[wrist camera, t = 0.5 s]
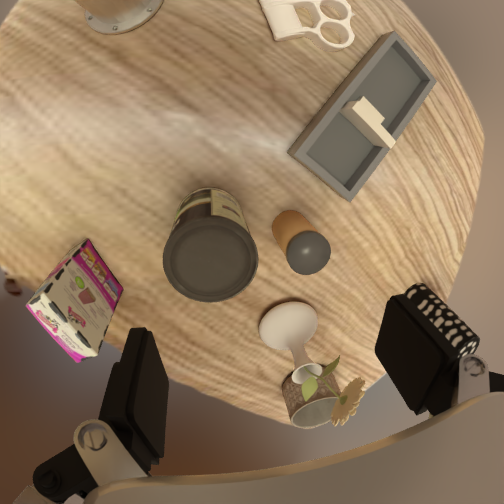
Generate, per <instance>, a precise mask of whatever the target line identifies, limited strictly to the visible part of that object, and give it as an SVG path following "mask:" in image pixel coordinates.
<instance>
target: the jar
mask: <svg viewBox="0 0 504 504" xmlns="http://www.w3.org/2000/svg"><path fill="white" fill-rule="evenodd" d="M272 232H273V235H274V237H275V238H276V240H277V242H278V244H279V246H280V247H281V249H282V251H283V253H284V254H285V256H286V259H287V261H288V263H289V265H290V267H291V268H292V269H293V270H294V271H295V272H296V273H299V274H302V275H310V274H314V273H316V272H318V271H320V270H321V269H322V268H323V267H324V266H325V265H326V264H327V262H328V261H329V258H330V254H331V248H330V244H329V242H328V241H327V240H326V238H325V237H324V236H323V235H322V234H320V233H319V232H318V231H317V230H316V229H315V228H314V227H313V226H312V225H311V224H310V223H309V222H308V221H307V220H306V219H305V218H304V217H303V216H302V215H301V214H300V213H299V212H297V211H293V210H288V211H284V212H282V213H280V214H279V215H278V216H277V217H276V218H275V220H274V222H273V225H272Z"/></svg>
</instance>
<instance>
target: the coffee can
mask: <svg viewBox="0 0 504 504" xmlns="http://www.w3.org/2000/svg"><path fill="white" fill-rule="evenodd" d="M257 267H258V252H257V248H256V245H255V242H254V240H253V239H252V237H251V235H250V232H249V230H248V227H247V225H246V222H245V219H244V217H243V213H242V210H241V207H240V205H239V203H238V202H237V200H236V199H235V198H234V197H233V196H232V195H231V194H229V193H228V192H226V191H223V190H221V189H217V188H202V189H198V190H196V191H194V192H192V193H190V194H189V195H188V196H186V197H185V198H184V200H183V201H182V202H181V204H180V206H179V208H178V210H177V214H176V218H175V221H174V224H173V227H172V230H171V233H170V236H169V239H168V241H167V243H166V245H165V248H164V253H163V268H164V271H165V274H166V276H167V278H168V280H169V282H170V283H171V284H172V286H173V287H174V288H175V289H176V290H177V291H178V292H180V293H181V294H183V295H184V296H186V297H188V298H190V299H193V300H196V301H200V302H220V301H224V300H228V299H230V298H233V297H235V296H236V295H238V294H239V293H241V292H242V291H243V290H244V289H245V288H246V287H247V286H248V285H249V284H250V283H251V281H252V280H253V278H254V276H255V274H256V271H257Z"/></svg>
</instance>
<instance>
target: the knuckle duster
mask: <svg viewBox="0 0 504 504" xmlns="http://www.w3.org/2000/svg"><path fill="white" fill-rule="evenodd" d="M259 2H260V4H261V6H262V11H263V12H264V13H265V16H266V18H267V20H268V23H269V25H270V28H271V30H272V32H273V35H274V36H273V37H274V40H276V41H285V40H290V39H295V38H299V37H306V38H308V39H310V40H312V42H313V43H314V44H315V45H316V46H317V47H318V48H320V49H322V50H324V51H328V52H337V51H339V50H341V49H344V48H346V47H348V46H349V45H350V44H351V43H352V42H353V40H354V36H355V35H354V33H353V32H352V30H351V27H350V18H351V17H352V16H355V14H354V13H352V12H351V6H350V5H349V4H348V3H347V1H346V0H259ZM321 5H322V6H328V7H331V8H333V9H335V10H336V11H337V12H338V13H339V16H340V20H335V19H331V18H328V17H327V16H325V15H324V14H323V13H322V11H321V10H320V6H321ZM297 8H305V9H307V10H308V12H309V14H310V16H311V19H312V21H313V23H314V26H313V27H312V28H309V27H302V25H301V23H300V20H299V18H298V16H297V13H296V11H295V9H297ZM320 27H326V28H331V29H333V30H335V31H336V32H337V33H338V34H339V36H340V40H341V41H340V44H335V43H330V42H328V41H327V40H325V39H324V38H323V36H322V35H321V32H320Z"/></svg>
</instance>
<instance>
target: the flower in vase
mask: <svg viewBox="0 0 504 504" xmlns="http://www.w3.org/2000/svg"><path fill="white" fill-rule="evenodd" d="M317 325H318V317H317V313H316V311H315V310H314V309H313V308H312V307H311V306H310V305H308V304H305V303H302V302H286V303H282V304H280V305H277V306H275V307H274V308H272V309H271V310H270V311H269V312H267V314H266V315H265V316H264V317H263V319H262V320H261V322H260V325H259V335H260V337H261V339H262V341H263V342H264V343H265V344H266V345H268V346H269V347H271V348H273V349H277V350H291V352H292V354H293V357H294V362H295V370H294V372H293V374H292V380H293V382H295V383H297V384H302V387H301V390H302V395H303V397H304V400H305V401H307V400H308V399H309V398H310V397H311V396H312V395H313V394H314V392H315V391H316V390H317V388H318V383H317V381H316V379H317V378H319V379H321V380H322V381H323V382H324V383H325V384H326V385H327V387H328V388H329V389H330V390H331V391H332V392H333V393H334V394H335V395H336V396H337V397H338V399H337V400H336V402H335V406H334V407H333V410H332V412H331V415H330V416H332V418H331V421H332V424H334V426H336V425H337V424H338V422H339V421H340V422H341V425H343V424H344V423H345V422H346V421H347V420H348V418H349V414H350V415H351V416H353V415H354V414H355V413H356V407H357V406H358V405H359V403H360V402H359V400H360V399H361V398H362V397H363V396H364V394H365V392H364V391H362V390H361V389H362V388H363V387H364V385H365V380H363V381H362V379H361V377H359V378H358V379H357V378H355V379H354V380H353V381H352V382H350V383H349V384H348V386H346V387H345V388H344V390H343V392H342V393H341V394H340V396H339V395H338V394H337V393H336V392H335V391H334V390H333V389H332V388H331V387H330V386H329V384H328V383H327V382H326V381H325V380H324V379H323V378H322V377H325V376H327V375H328V374H330V373H331V372H332V371H333V370H334V369H335V368H336V366H337V365H338V362H339V359H340V355H339V357H338V358H337V359H336V360H335V361H333V362H332V363H330V364H329V365H328V366H327V367H326V369H325V371H324V373H323V375H322V377H320V375H321V373H322V367H321V366H320V365H319V364H317V363H314V362H313V361H312V360H311V359H310V358H309V357H308V355H307V353H306V351H305V349H304V346H303V345H304V344H305V343H306V342H308V341H309V340H310V339H311V337H312V336H313V335H314V333H315V331H316V329H317Z"/></svg>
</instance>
